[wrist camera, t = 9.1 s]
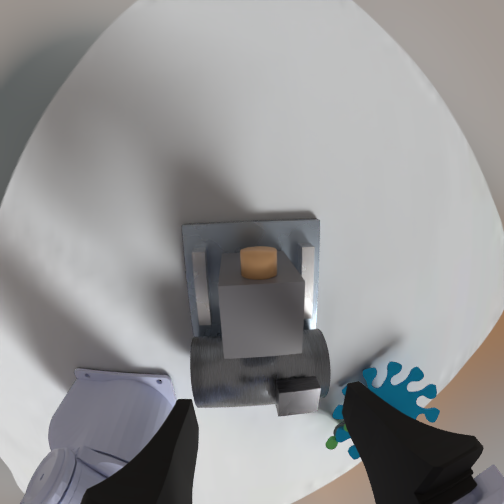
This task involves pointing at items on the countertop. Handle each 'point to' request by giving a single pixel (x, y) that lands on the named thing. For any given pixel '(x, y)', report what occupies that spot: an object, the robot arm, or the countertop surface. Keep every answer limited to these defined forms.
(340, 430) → the gear
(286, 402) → the motor mount
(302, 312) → the grey knobbed block
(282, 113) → the countertop surface
